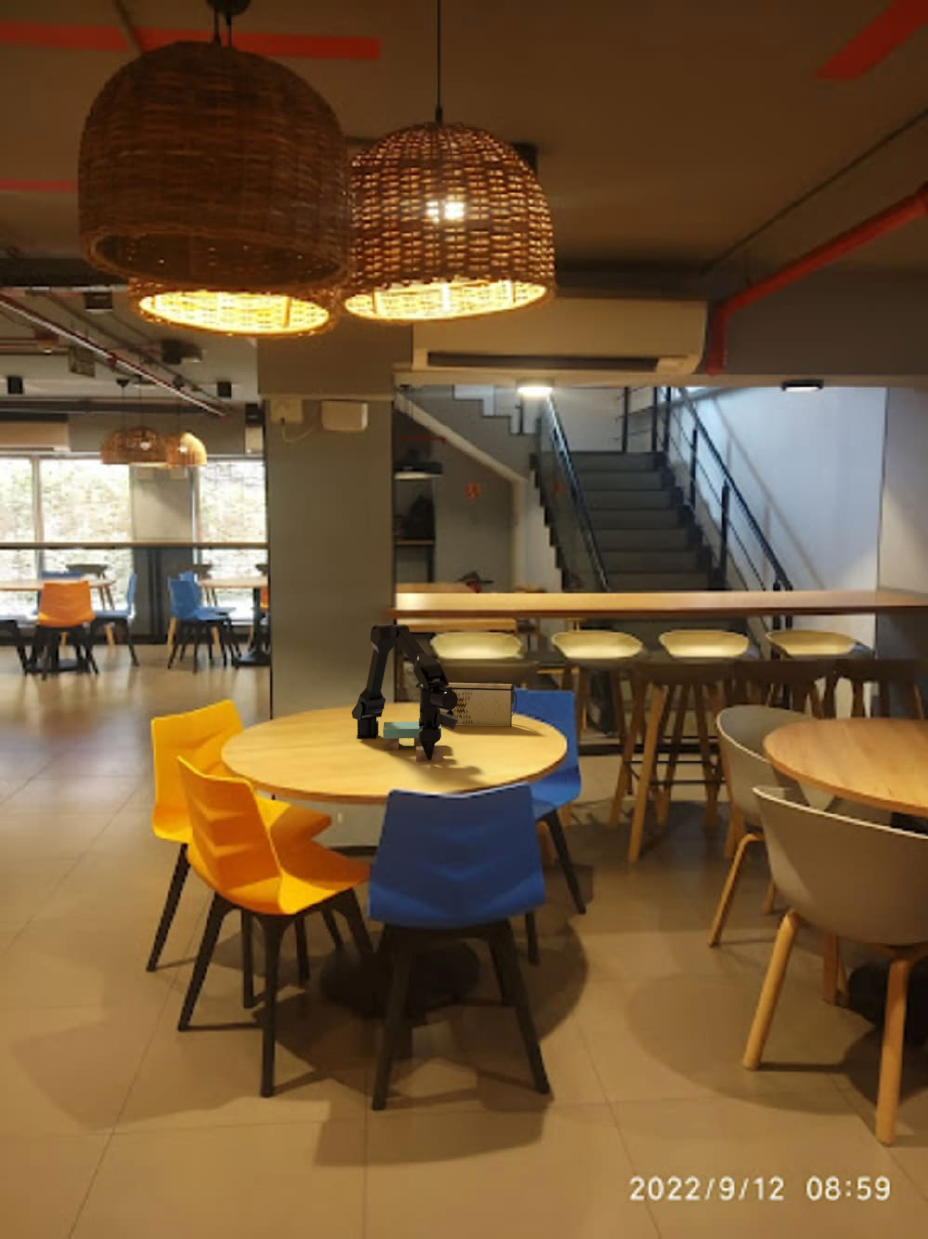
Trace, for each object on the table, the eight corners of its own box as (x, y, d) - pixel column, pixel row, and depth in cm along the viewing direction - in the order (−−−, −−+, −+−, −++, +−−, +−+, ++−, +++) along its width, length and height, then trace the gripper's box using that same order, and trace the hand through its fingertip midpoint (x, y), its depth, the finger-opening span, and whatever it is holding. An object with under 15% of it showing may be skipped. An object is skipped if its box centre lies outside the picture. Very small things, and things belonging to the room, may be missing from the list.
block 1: (385, 750, 277) (385, 738, 277) (386, 743, 285) (386, 731, 285) (398, 750, 277) (398, 738, 277) (399, 743, 285) (399, 731, 285)
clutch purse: (517, 722, 313) (517, 680, 311) (516, 727, 306) (517, 684, 304) (432, 720, 315) (432, 679, 313) (430, 725, 308) (430, 683, 306)
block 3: (416, 762, 265) (416, 750, 264) (416, 758, 269) (416, 746, 268) (443, 762, 265) (443, 749, 265) (442, 758, 269) (442, 746, 269)
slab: (383, 738, 276) (383, 729, 276) (384, 731, 285) (384, 722, 285) (441, 737, 277) (441, 728, 277) (440, 730, 286) (440, 721, 285)
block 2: (414, 750, 278) (413, 737, 277) (414, 743, 286) (413, 731, 285) (426, 749, 278) (426, 737, 277) (426, 743, 286) (426, 730, 285)
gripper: (457, 711, 256) (457, 764, 258) (454, 697, 275) (454, 746, 277) (419, 711, 256) (419, 764, 258) (418, 697, 274) (418, 747, 276)
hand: (429, 755), depth 267 cm, fingers open, 9 cm apart
